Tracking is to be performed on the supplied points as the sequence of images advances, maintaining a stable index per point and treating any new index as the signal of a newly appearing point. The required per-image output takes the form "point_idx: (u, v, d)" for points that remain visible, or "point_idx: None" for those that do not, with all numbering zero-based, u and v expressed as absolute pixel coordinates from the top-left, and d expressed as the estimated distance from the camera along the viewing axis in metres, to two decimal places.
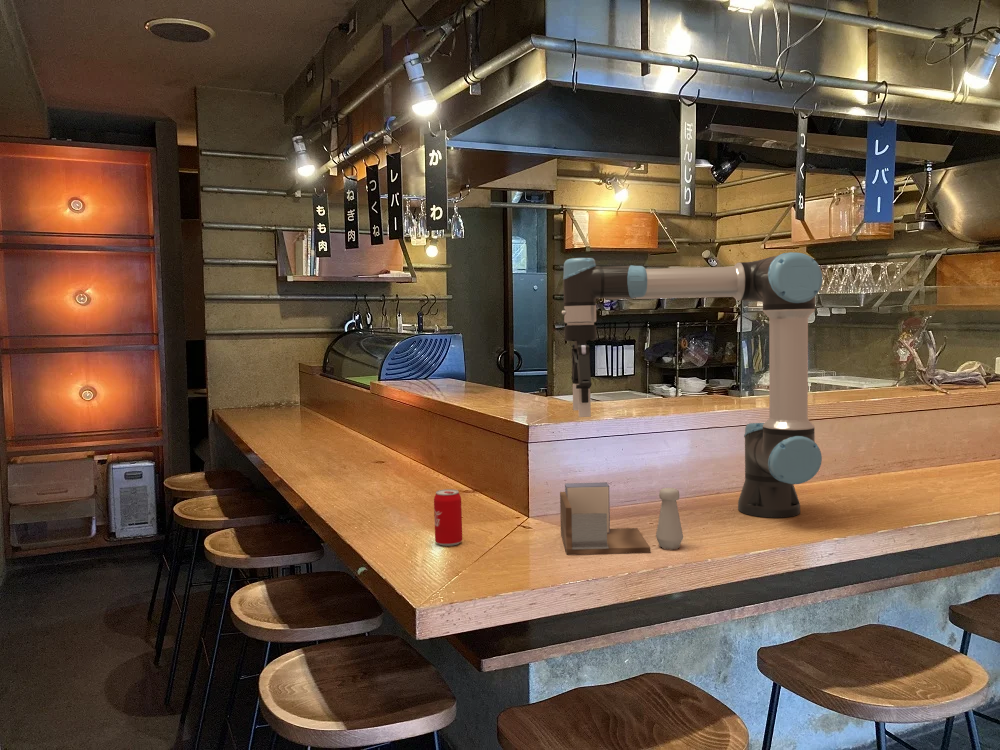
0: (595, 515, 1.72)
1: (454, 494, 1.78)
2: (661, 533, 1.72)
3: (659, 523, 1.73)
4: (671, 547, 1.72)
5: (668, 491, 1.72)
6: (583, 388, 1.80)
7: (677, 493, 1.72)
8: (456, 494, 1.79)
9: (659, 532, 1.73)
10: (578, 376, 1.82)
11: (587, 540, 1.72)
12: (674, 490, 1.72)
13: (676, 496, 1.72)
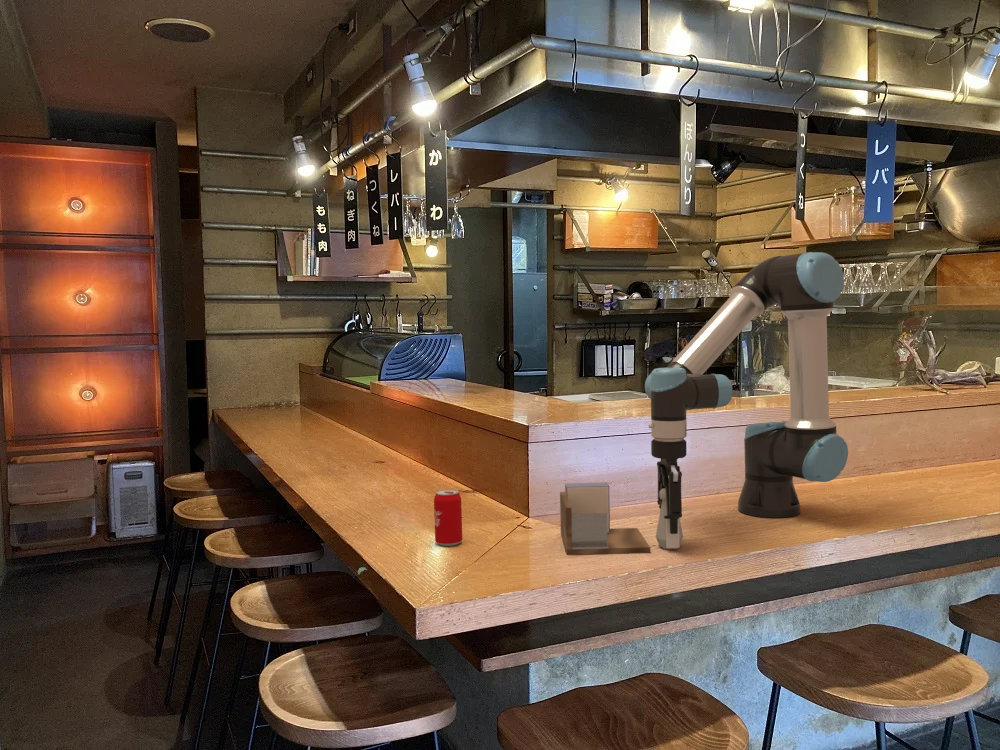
0: (595, 515, 1.72)
1: (454, 494, 1.78)
2: (661, 533, 1.72)
3: (659, 523, 1.73)
4: None
5: None
6: (672, 519, 1.69)
7: None
8: (456, 494, 1.79)
9: (659, 532, 1.73)
10: (667, 503, 1.70)
11: (587, 540, 1.72)
12: None
13: None
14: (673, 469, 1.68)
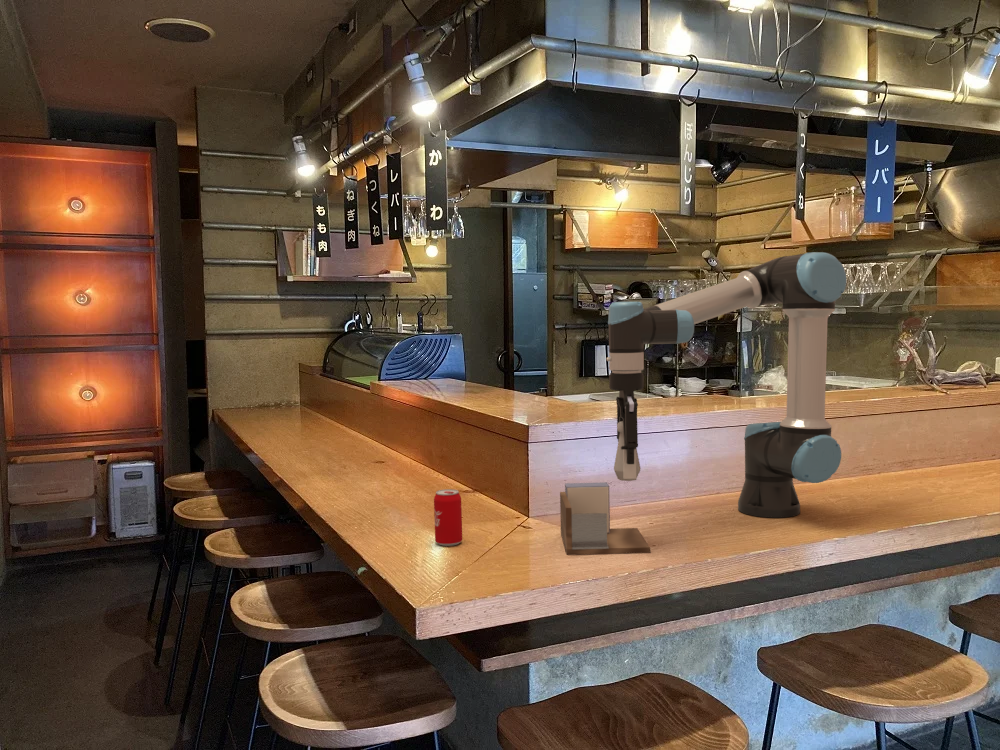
0: (595, 515, 1.72)
1: (454, 494, 1.78)
2: (619, 465, 1.75)
3: (617, 455, 1.76)
4: None
5: None
6: (629, 449, 1.71)
7: None
8: (456, 494, 1.79)
9: (617, 464, 1.75)
10: (624, 434, 1.73)
11: (587, 540, 1.72)
12: None
13: None
14: (629, 400, 1.71)
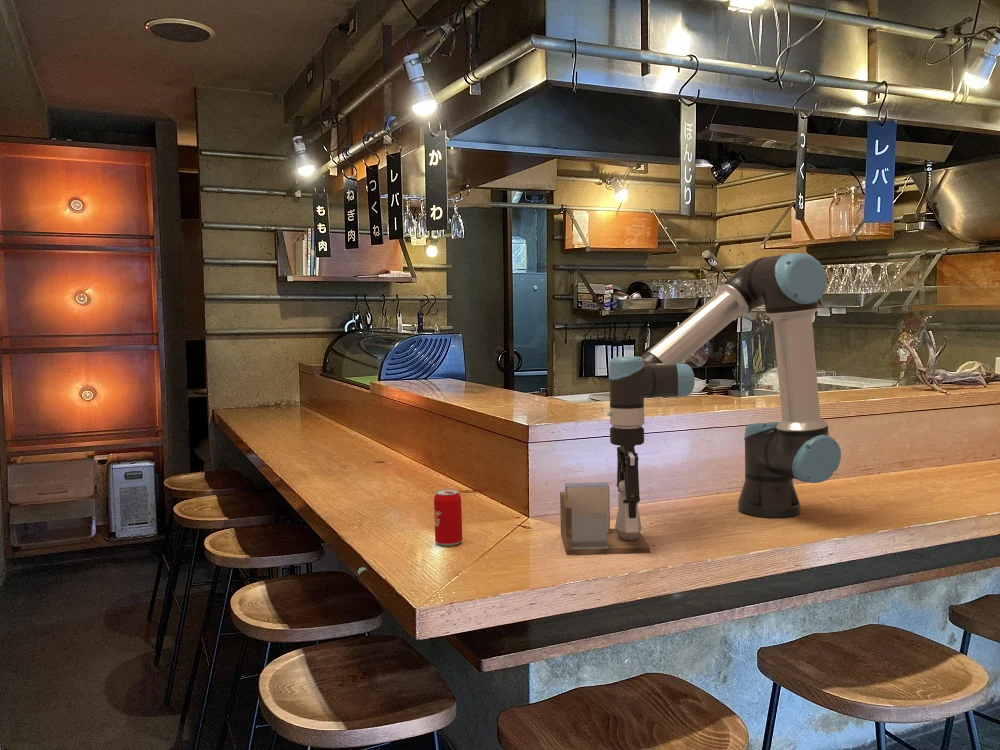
0: (595, 515, 1.72)
1: (454, 494, 1.78)
2: (620, 524, 1.75)
3: (618, 514, 1.77)
4: (629, 538, 1.75)
5: None
6: (631, 503, 1.70)
7: None
8: (456, 494, 1.79)
9: (618, 523, 1.76)
10: (625, 488, 1.72)
11: (587, 540, 1.72)
12: None
13: None
14: (630, 454, 1.71)
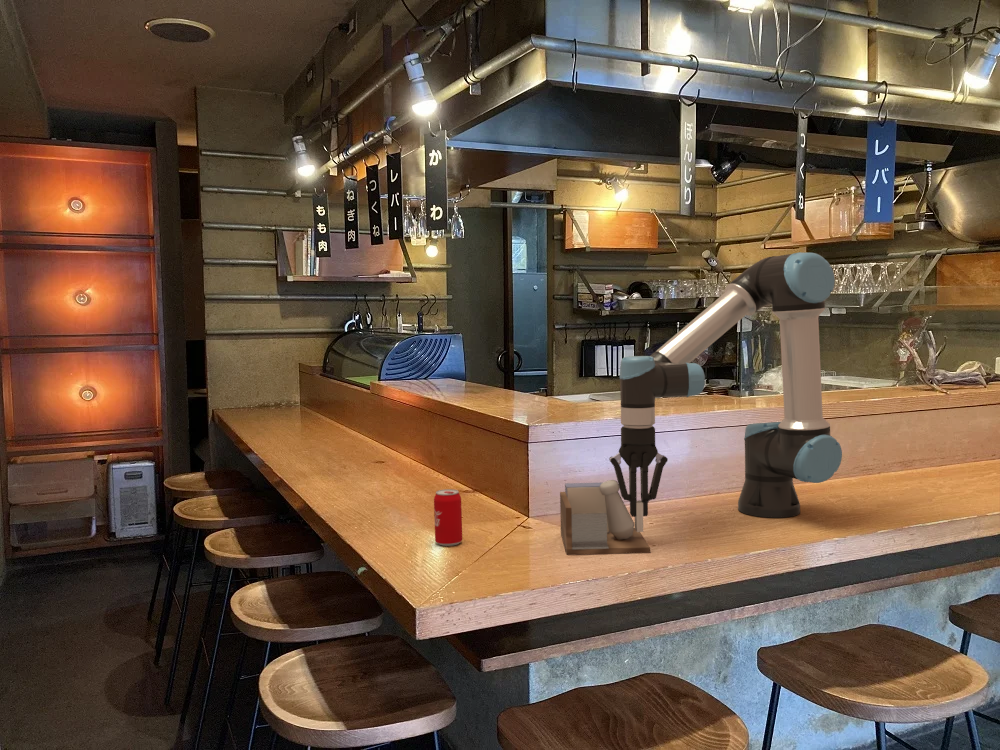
0: (595, 515, 1.72)
1: (454, 494, 1.78)
2: (612, 526, 1.75)
3: (608, 517, 1.77)
4: (625, 537, 1.75)
5: (606, 486, 1.74)
6: None
7: (616, 485, 1.74)
8: (456, 494, 1.79)
9: (610, 525, 1.76)
10: None
11: (587, 540, 1.72)
12: (612, 483, 1.75)
13: (615, 488, 1.74)
14: (616, 454, 1.76)
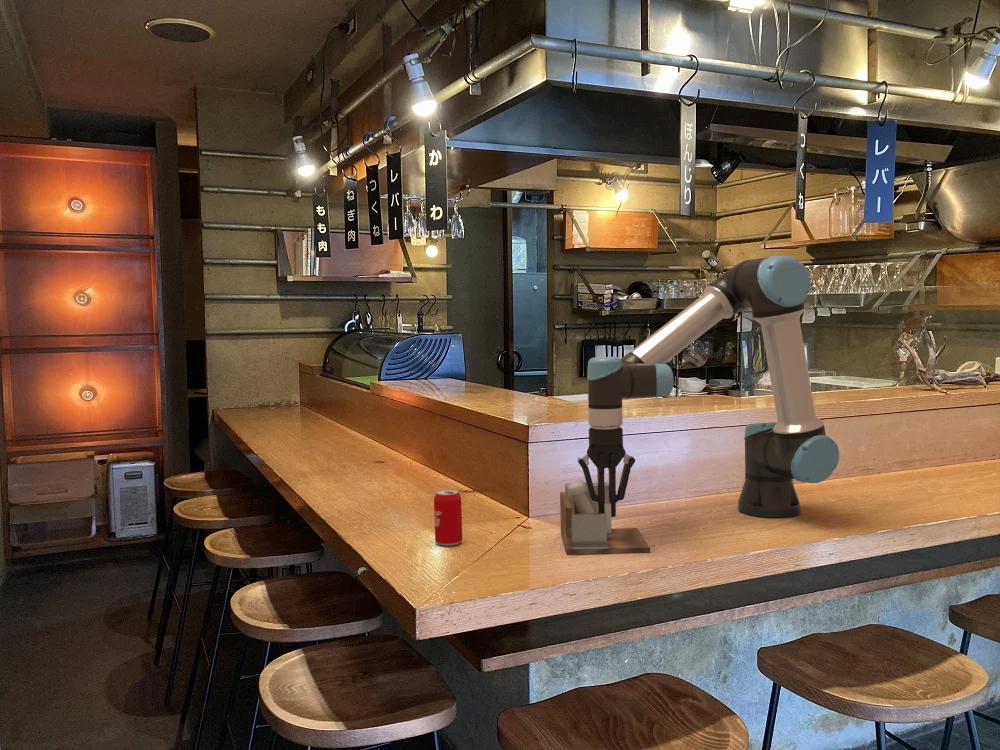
0: (595, 515, 1.72)
1: (454, 494, 1.78)
2: None
3: None
4: None
5: (574, 487, 1.74)
6: None
7: (583, 486, 1.75)
8: (456, 494, 1.79)
9: None
10: None
11: (587, 540, 1.72)
12: (579, 484, 1.75)
13: (582, 489, 1.74)
14: (584, 455, 1.76)
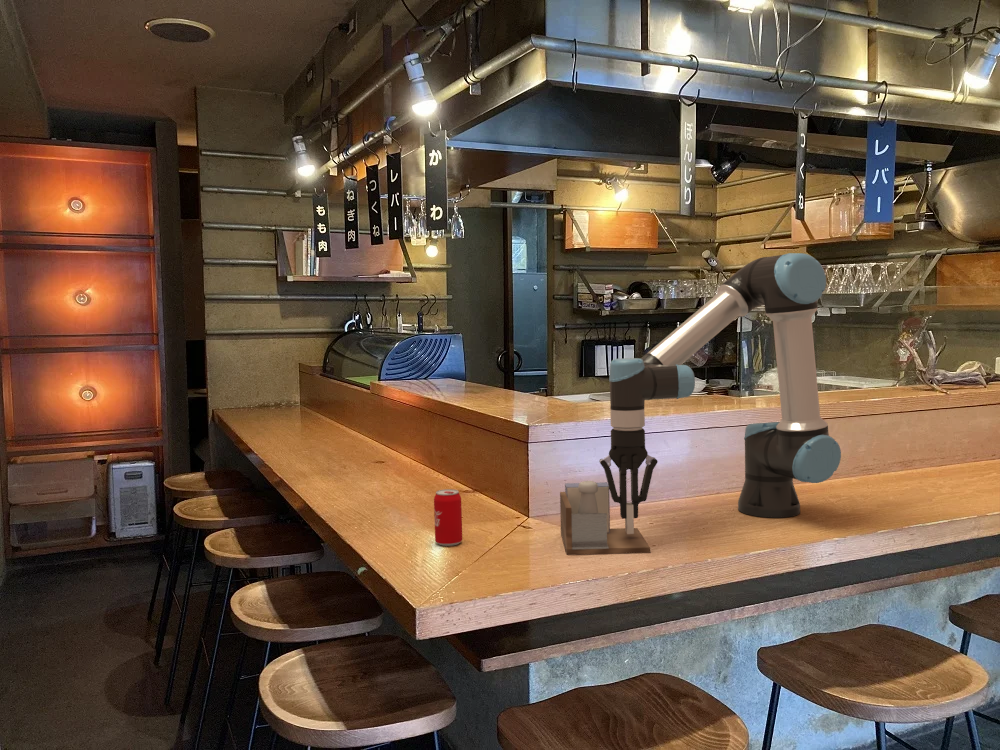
0: (595, 515, 1.72)
1: (454, 494, 1.78)
2: None
3: None
4: None
5: (586, 484, 1.75)
6: None
7: (595, 486, 1.75)
8: (456, 494, 1.79)
9: None
10: None
11: (587, 540, 1.72)
12: (592, 483, 1.76)
13: (593, 489, 1.75)
14: None
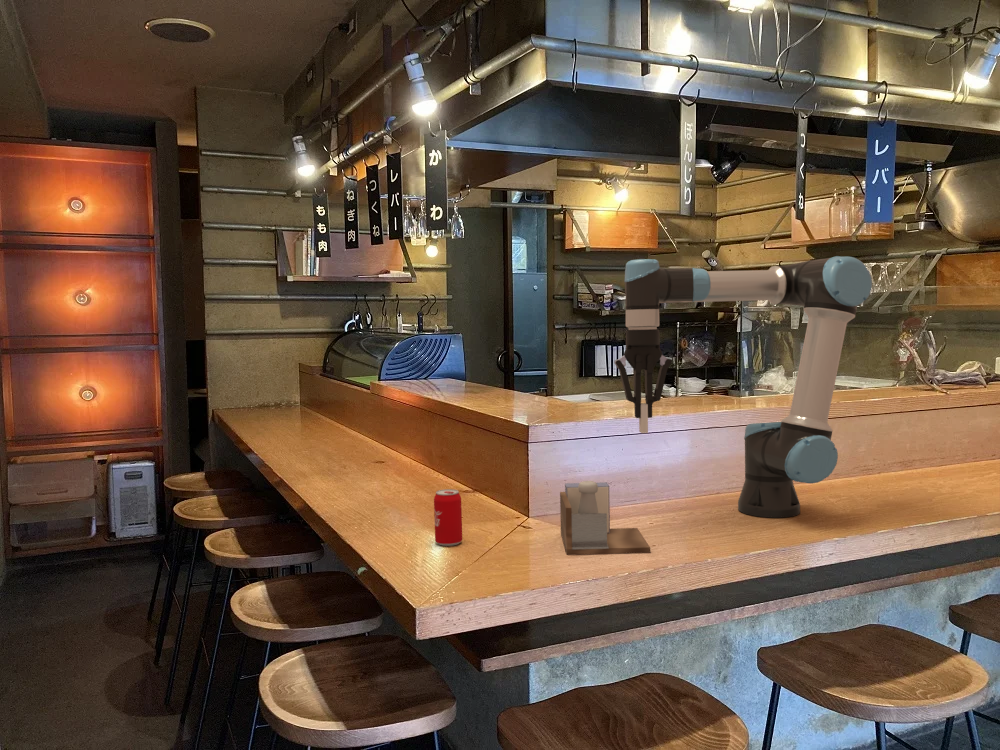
0: (595, 515, 1.72)
1: (454, 494, 1.78)
2: None
3: None
4: None
5: (586, 484, 1.75)
6: None
7: (595, 486, 1.75)
8: (456, 494, 1.79)
9: None
10: None
11: (587, 540, 1.72)
12: (592, 483, 1.76)
13: (593, 489, 1.75)
14: (621, 357, 1.79)
